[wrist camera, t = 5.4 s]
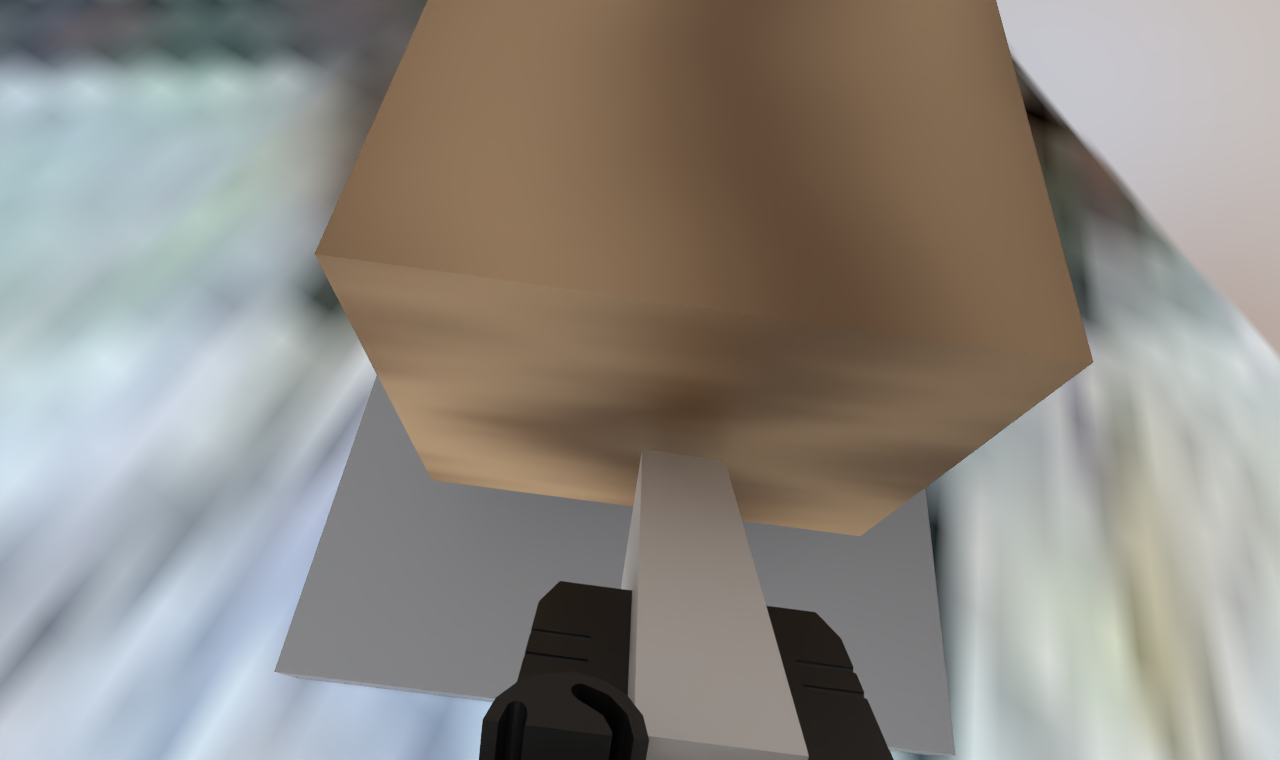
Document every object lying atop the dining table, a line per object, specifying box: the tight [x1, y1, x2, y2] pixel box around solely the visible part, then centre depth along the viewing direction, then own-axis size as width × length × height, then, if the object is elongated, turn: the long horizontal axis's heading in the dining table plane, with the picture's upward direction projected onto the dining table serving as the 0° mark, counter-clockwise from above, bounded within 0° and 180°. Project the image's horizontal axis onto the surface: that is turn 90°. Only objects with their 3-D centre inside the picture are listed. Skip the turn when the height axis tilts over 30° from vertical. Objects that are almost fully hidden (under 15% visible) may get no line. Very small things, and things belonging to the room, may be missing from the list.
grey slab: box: [274, 375, 955, 755], centre depth 19 cm, size 16×22×6 cm
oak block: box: [315, 0, 1093, 536], centre depth 16 cm, size 13×12×10 cm
